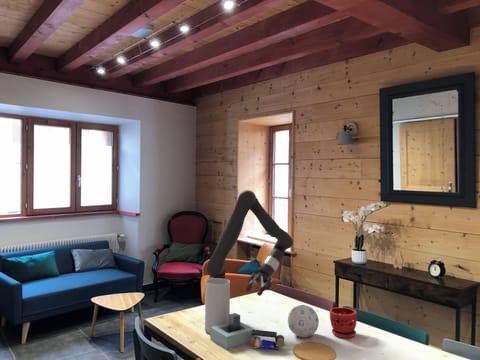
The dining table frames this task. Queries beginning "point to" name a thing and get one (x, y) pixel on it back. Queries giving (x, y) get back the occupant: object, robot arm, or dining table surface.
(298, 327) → the puzzle ball
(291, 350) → the dining table surface
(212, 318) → the cylinder vase
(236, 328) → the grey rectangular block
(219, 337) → the well block
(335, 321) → the plant pot
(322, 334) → the dining table surface
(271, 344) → the figurine character
